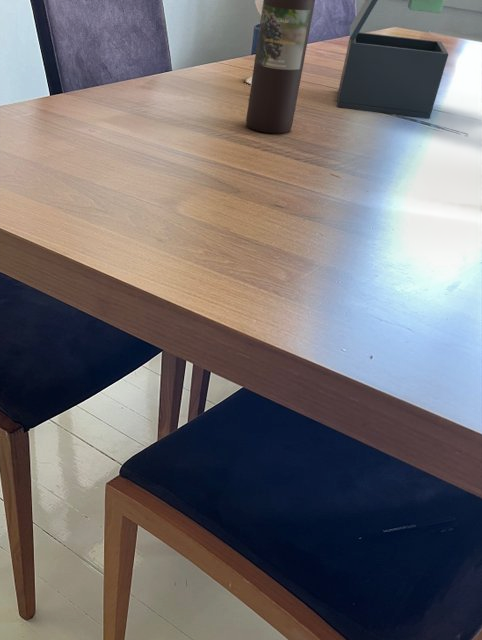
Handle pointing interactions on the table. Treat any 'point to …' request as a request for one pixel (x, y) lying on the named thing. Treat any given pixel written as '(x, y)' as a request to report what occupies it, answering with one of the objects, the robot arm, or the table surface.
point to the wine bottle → (278, 64)
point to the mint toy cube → (426, 5)
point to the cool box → (392, 74)
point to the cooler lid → (361, 18)
